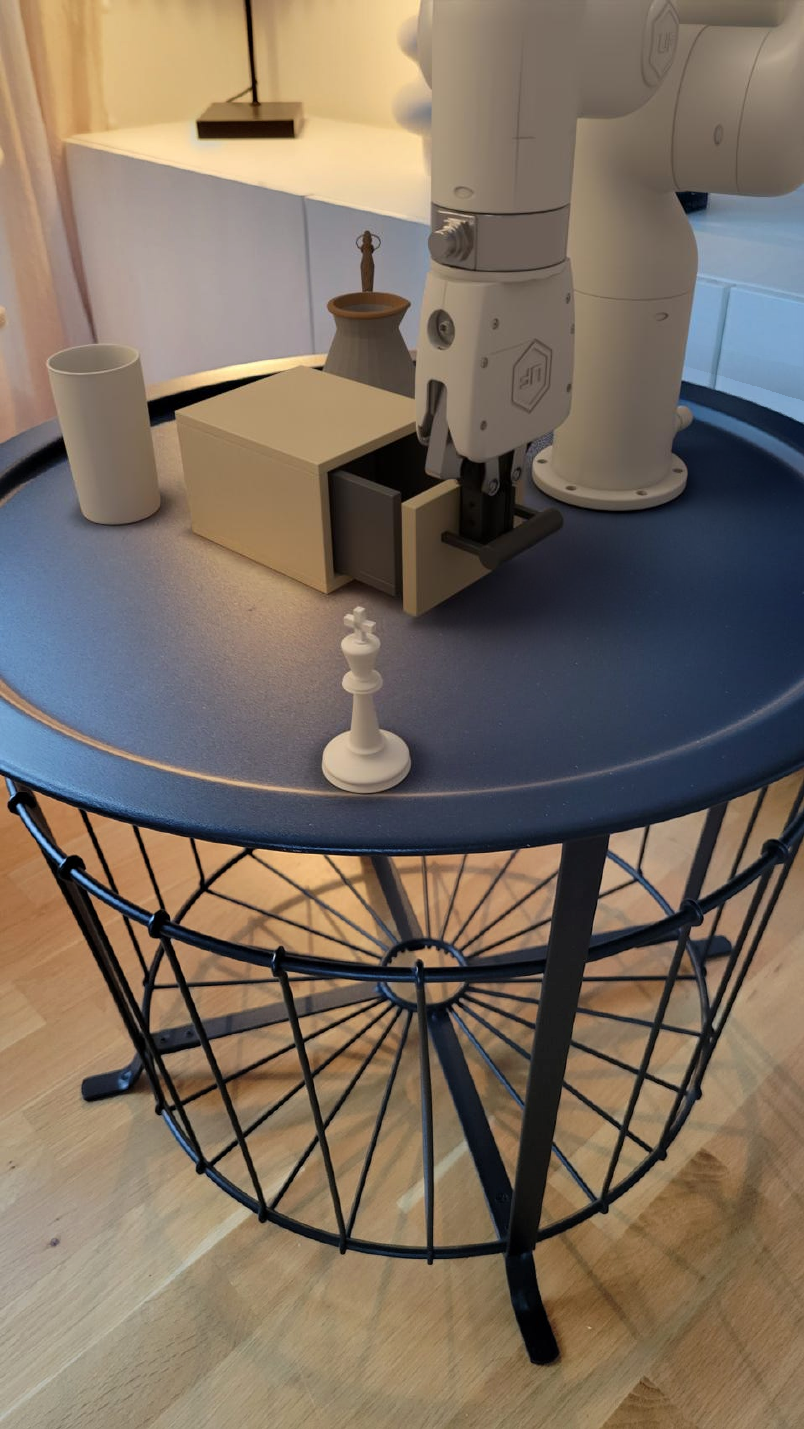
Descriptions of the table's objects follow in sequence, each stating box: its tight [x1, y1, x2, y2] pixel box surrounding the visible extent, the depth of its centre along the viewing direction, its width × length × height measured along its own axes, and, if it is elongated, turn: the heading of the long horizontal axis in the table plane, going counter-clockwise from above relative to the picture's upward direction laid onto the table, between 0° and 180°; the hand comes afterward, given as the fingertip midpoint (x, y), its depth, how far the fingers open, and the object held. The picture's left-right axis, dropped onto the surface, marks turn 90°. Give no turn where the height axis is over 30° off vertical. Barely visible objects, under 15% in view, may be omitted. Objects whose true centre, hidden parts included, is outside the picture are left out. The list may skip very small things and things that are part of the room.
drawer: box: [327, 431, 565, 618], centre depth 72 cm, size 18×11×8 cm, turn 48°
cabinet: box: [174, 364, 417, 595], centre depth 78 cm, size 15×13×10 cm
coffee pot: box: [321, 230, 416, 399], centre depth 92 cm, size 21×12×15 cm, turn 1°
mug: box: [45, 343, 162, 525], centre depth 82 cm, size 10×7×12 cm, turn 178°
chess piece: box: [321, 605, 412, 794], centre depth 55 cm, size 5×5×10 cm
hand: (485, 540), depth 68 cm, fingers closed
